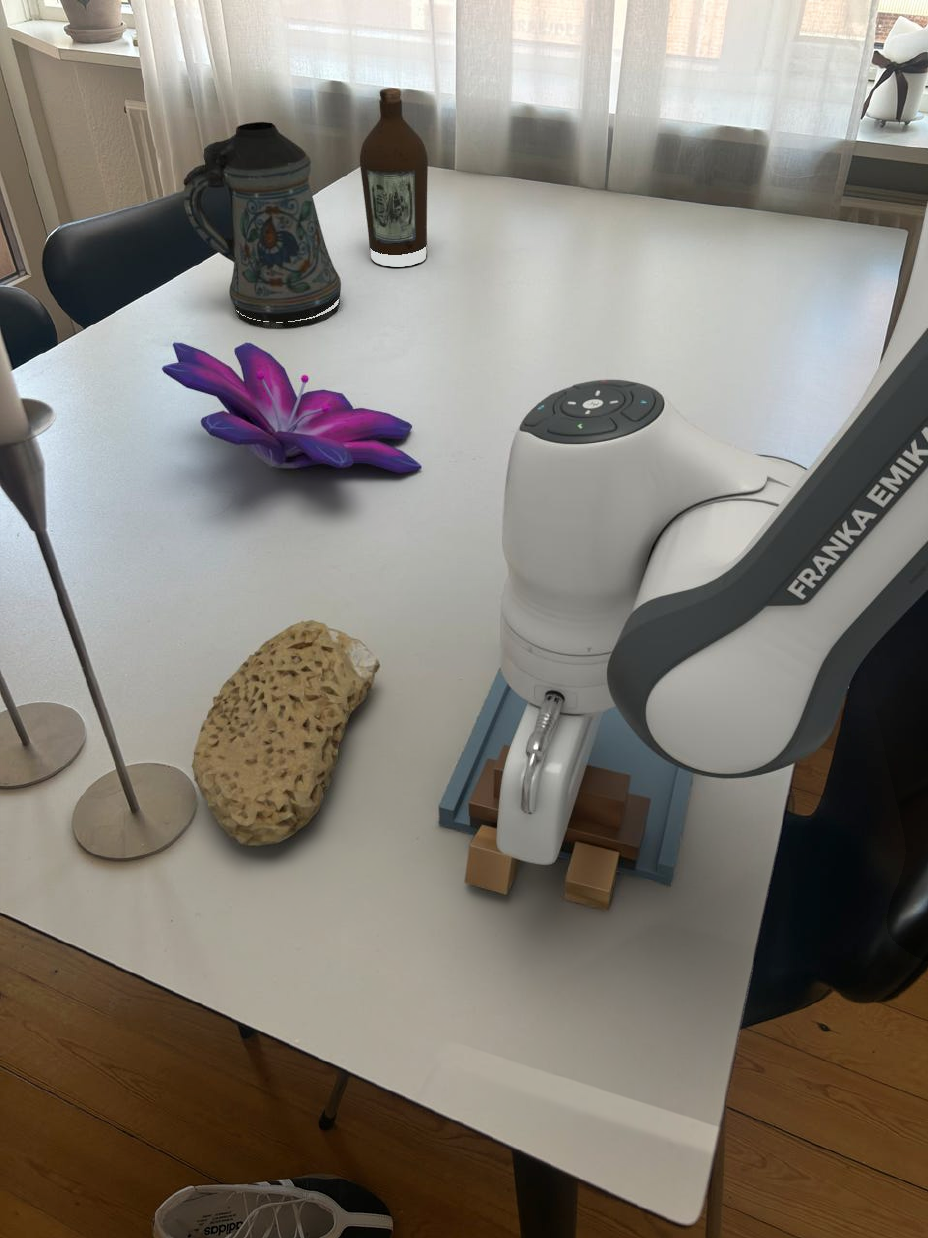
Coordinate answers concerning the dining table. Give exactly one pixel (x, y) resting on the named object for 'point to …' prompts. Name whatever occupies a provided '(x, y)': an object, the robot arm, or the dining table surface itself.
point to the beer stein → (267, 228)
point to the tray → (609, 751)
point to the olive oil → (394, 181)
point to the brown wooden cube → (489, 863)
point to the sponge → (280, 731)
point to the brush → (578, 810)
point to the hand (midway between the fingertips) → (560, 793)
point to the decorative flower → (288, 414)
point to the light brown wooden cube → (591, 875)
